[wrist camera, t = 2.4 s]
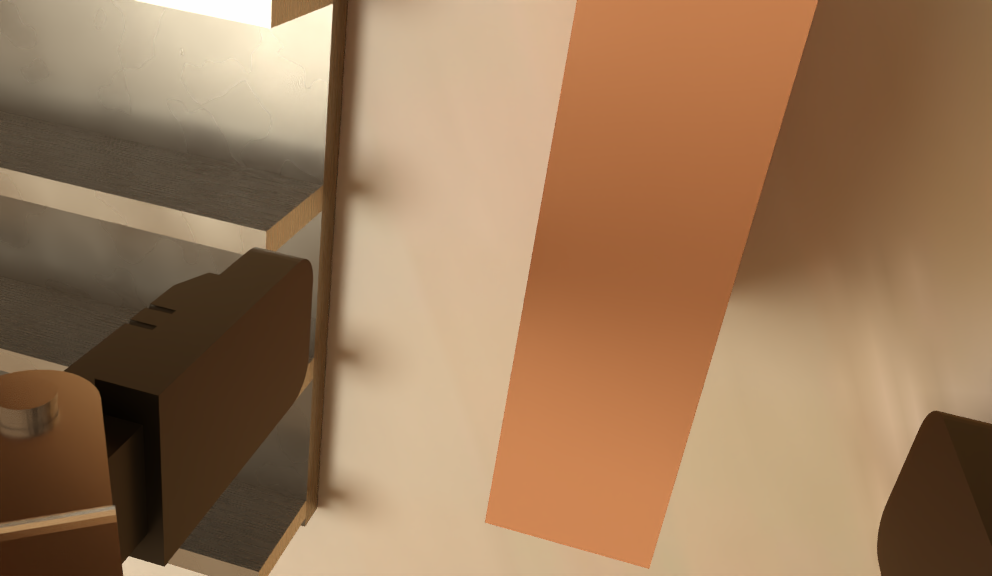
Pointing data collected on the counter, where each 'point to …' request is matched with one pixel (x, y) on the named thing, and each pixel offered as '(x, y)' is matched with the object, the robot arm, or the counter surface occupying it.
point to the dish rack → (171, 199)
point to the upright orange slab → (637, 258)
